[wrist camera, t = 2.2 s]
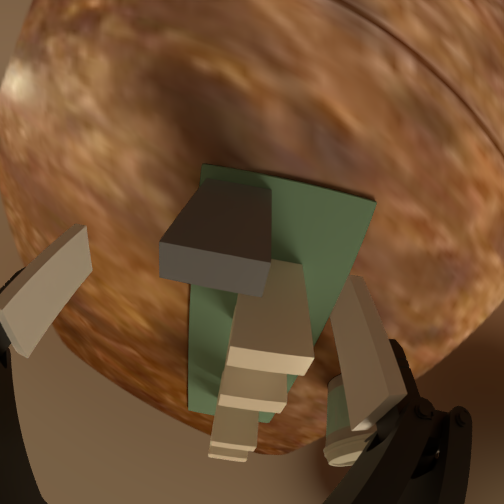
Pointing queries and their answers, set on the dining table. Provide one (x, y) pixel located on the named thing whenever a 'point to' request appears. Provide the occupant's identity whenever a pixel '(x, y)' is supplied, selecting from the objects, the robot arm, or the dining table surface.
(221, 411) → the domino
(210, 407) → the mat
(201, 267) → the slate domino
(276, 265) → the domino
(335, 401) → the coffee cup
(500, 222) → the dining table surface
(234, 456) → the domino
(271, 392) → the domino
